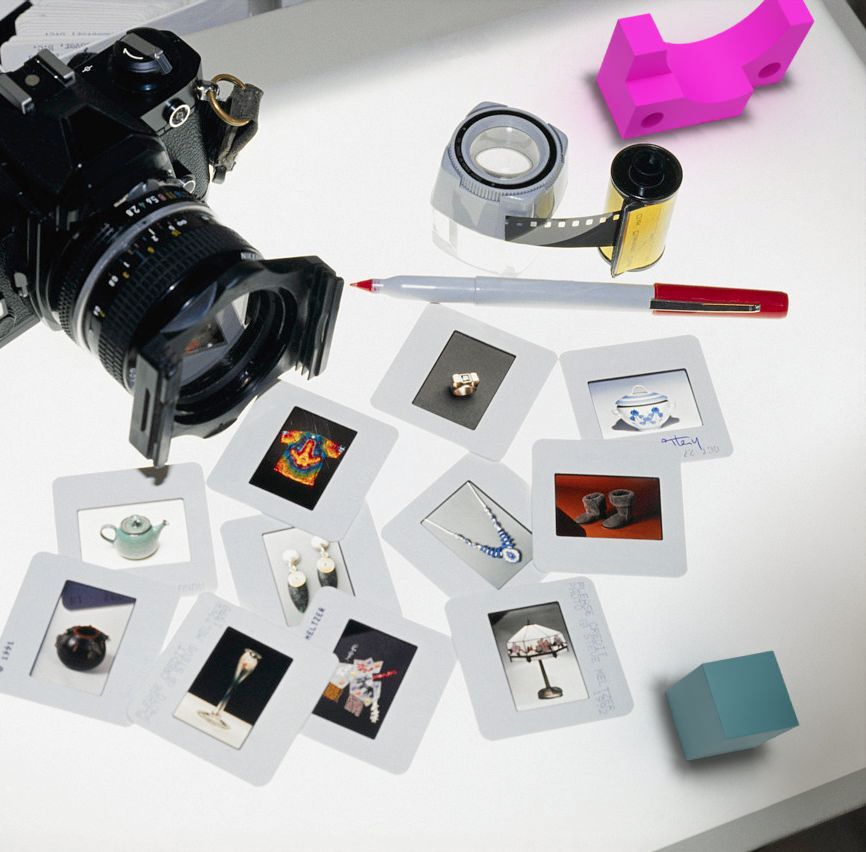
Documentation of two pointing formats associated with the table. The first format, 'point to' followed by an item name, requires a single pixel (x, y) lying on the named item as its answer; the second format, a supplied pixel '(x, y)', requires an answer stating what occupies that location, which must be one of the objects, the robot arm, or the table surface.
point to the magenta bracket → (696, 68)
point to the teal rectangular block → (731, 705)
